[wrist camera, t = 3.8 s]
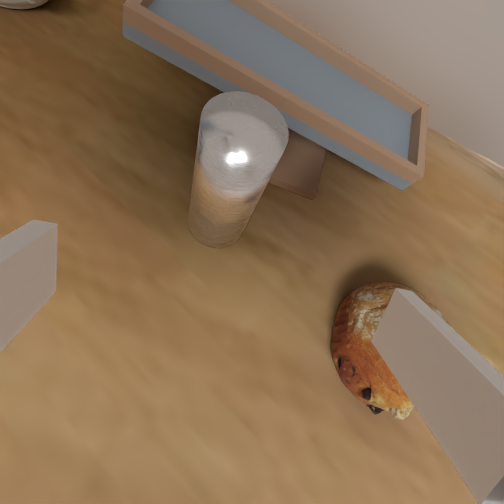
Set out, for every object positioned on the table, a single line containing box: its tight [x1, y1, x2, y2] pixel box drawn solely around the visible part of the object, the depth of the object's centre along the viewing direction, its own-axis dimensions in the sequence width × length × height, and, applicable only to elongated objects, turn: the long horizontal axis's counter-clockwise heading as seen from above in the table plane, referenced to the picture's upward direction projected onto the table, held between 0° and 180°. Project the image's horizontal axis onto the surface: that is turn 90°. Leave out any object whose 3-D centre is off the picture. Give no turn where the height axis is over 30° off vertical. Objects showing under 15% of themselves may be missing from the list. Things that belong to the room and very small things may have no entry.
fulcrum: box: [223, 92, 327, 200], centre depth 32 cm, size 12×12×5 cm
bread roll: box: [331, 282, 451, 420], centre depth 26 cm, size 10×10×8 cm
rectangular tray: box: [122, 0, 429, 190], centre depth 28 cm, size 26×11×3 cm, turn 73°
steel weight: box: [188, 91, 289, 248], centre depth 23 cm, size 5×5×12 cm
